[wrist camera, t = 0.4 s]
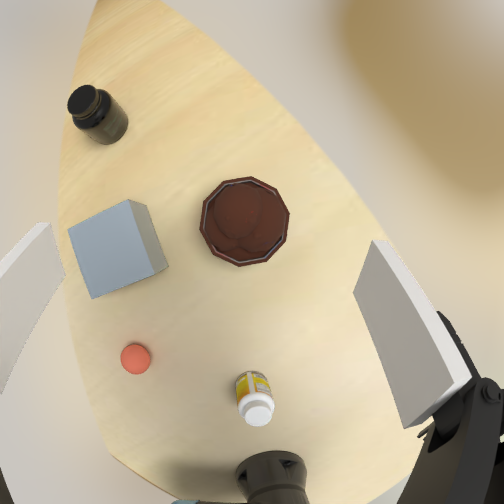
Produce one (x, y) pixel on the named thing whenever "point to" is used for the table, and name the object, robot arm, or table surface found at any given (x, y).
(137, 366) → the ball
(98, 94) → the supplement bottle
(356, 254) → the table surface
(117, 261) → the block
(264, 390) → the supplement bottle
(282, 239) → the ice cream bowl
